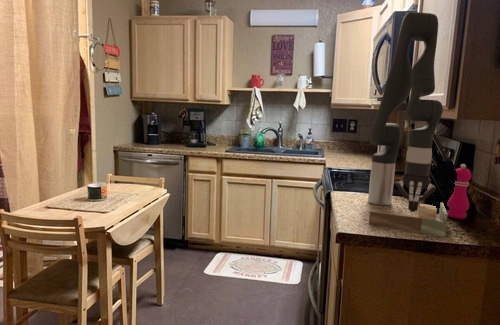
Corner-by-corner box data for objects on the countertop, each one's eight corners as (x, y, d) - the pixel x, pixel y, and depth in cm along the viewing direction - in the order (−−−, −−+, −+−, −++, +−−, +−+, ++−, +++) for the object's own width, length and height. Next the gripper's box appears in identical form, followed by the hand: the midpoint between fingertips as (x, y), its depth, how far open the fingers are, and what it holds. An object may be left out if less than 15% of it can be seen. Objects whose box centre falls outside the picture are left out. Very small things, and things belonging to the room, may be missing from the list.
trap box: (373, 211, 139) (375, 193, 138) (441, 221, 130) (443, 202, 129) (368, 224, 124) (370, 204, 123) (445, 236, 115) (447, 215, 114)
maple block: (418, 217, 125) (419, 203, 124) (434, 220, 123) (436, 206, 122) (418, 221, 120) (419, 207, 120) (435, 224, 118) (436, 209, 118)
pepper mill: (443, 215, 138) (449, 163, 135) (449, 212, 143) (455, 161, 140) (464, 220, 133) (471, 166, 130) (470, 216, 138) (477, 164, 135)
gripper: (440, 161, 121) (433, 211, 124) (397, 157, 127) (392, 205, 129) (441, 164, 115) (434, 217, 117) (396, 160, 120) (390, 211, 123)
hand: (412, 211), depth 123 cm, fingers closed
